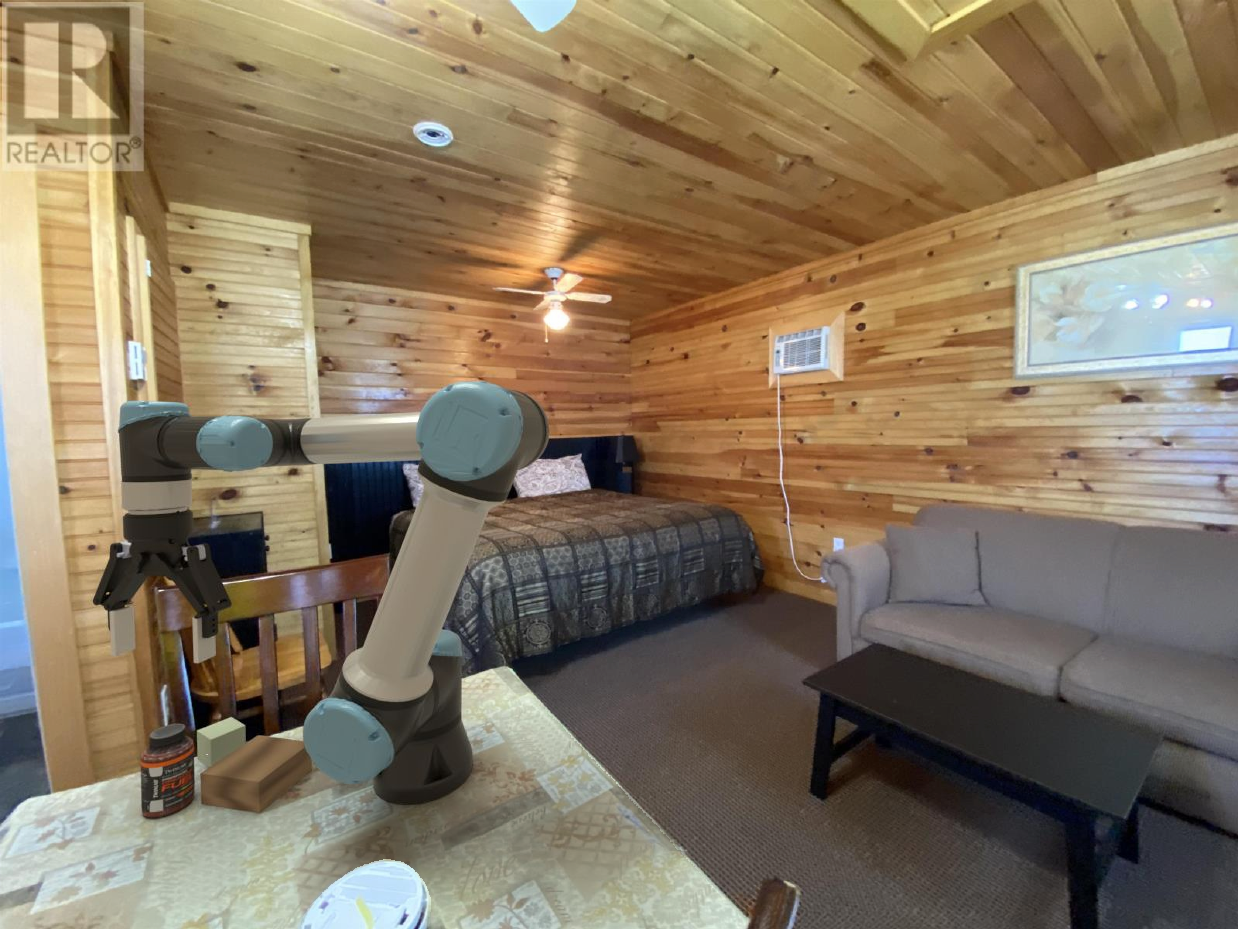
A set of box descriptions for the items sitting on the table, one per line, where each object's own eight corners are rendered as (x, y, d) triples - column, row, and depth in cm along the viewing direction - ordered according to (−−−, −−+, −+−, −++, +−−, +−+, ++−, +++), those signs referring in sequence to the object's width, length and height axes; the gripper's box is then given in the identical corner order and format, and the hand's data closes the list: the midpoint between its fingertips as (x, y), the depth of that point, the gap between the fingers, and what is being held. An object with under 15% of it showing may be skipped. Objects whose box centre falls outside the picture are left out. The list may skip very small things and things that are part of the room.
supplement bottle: (163, 823, 73) (161, 745, 72) (130, 816, 74) (127, 739, 73) (205, 794, 79) (203, 722, 78) (173, 788, 80) (171, 717, 79)
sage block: (245, 753, 89) (245, 725, 89) (211, 769, 85) (210, 739, 84) (231, 744, 92) (231, 717, 91) (197, 759, 87) (196, 730, 87)
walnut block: (311, 771, 85) (311, 742, 85) (259, 815, 75) (258, 782, 75) (259, 764, 87) (258, 735, 86) (201, 806, 77) (200, 773, 76)
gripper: (258, 509, 76) (262, 651, 77) (113, 504, 79) (118, 640, 81) (211, 517, 69) (216, 673, 70) (53, 511, 72) (60, 660, 73)
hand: (163, 656), depth 75 cm, fingers open, 13 cm apart
